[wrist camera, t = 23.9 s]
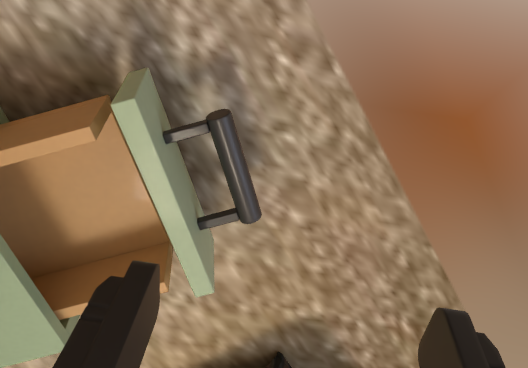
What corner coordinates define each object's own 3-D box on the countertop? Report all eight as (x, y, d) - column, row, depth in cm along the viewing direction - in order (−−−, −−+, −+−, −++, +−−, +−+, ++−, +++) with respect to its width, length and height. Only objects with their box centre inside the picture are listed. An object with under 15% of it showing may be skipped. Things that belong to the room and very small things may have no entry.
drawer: (214, 48, 25) (216, 75, 21) (267, 225, 32) (277, 276, 27) (-97, 134, 26) (-164, 180, 21) (16, 291, 32) (-17, 353, 27)
